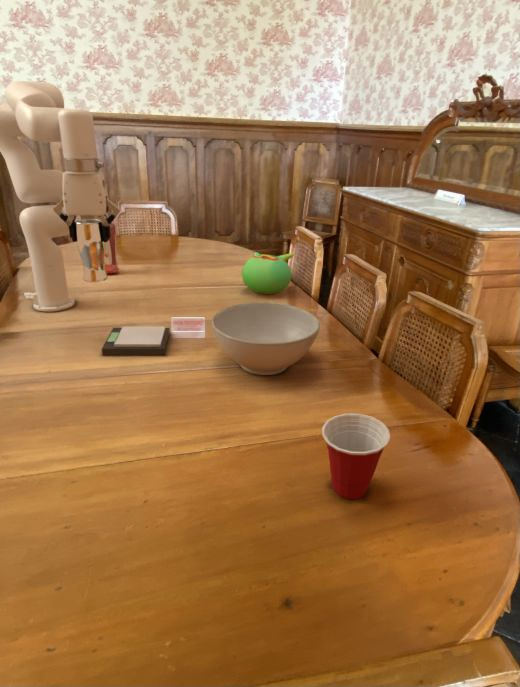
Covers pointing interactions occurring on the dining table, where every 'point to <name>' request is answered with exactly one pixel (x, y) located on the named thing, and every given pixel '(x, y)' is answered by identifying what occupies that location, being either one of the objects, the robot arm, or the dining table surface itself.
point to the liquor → (111, 252)
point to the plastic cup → (354, 451)
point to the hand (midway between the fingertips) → (91, 240)
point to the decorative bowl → (265, 335)
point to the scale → (137, 340)
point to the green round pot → (267, 273)
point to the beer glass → (91, 249)
